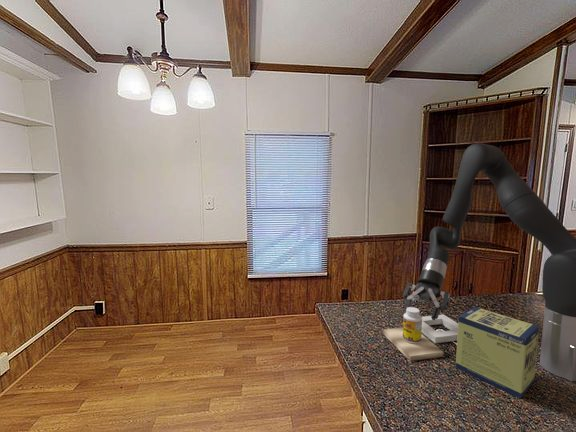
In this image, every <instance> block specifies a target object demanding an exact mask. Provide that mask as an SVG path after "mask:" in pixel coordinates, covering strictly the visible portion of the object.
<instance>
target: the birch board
mask: <svg viewBox="0 0 576 432" xmlns="http://www.w3.org/2000/svg"><path fill="white" fill-rule="evenodd" d="M382 334H383V335H384V336H385V337H386V338H387V339H388V341H390V342H391V343H392V344H393V346H395V348H397V349H398V350H399V351H400V352H401V354H403V355H404V357H405V358H407V359H408V360H409V361H410V362H411V361H420V360H428V359H436V358H441V357H442V358H443V357H444V351H443V350H442V349H441V348H439V347H438V346H437V345H435V343H434V342H433V341H432V340H430V339H429V338H428V337H427V336H426V335H424V334H423V333H421V341H420V342H419V343H409V342H407V341H405V340H404V339H403V326H402V327H393V328H385V329H383V330H382Z"/></svg>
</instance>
